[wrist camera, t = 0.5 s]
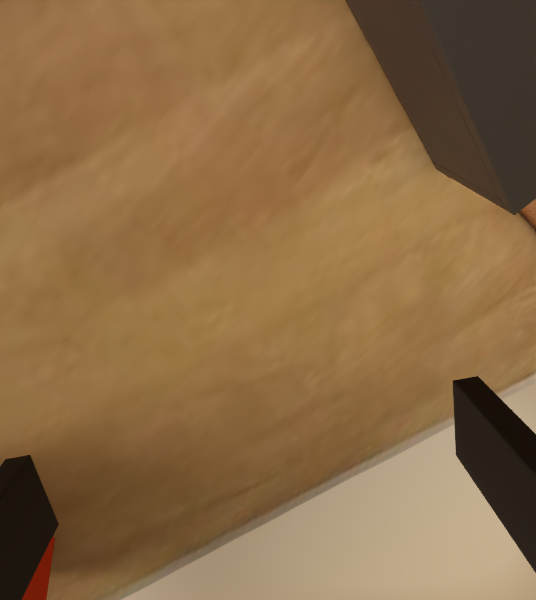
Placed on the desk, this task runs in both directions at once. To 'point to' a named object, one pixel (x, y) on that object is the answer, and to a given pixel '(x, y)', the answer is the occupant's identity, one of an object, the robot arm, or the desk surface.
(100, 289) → the desk surface
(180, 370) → the desk surface
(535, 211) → the sunglasses case
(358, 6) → the cover
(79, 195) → the desk surface
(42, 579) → the tall red block
